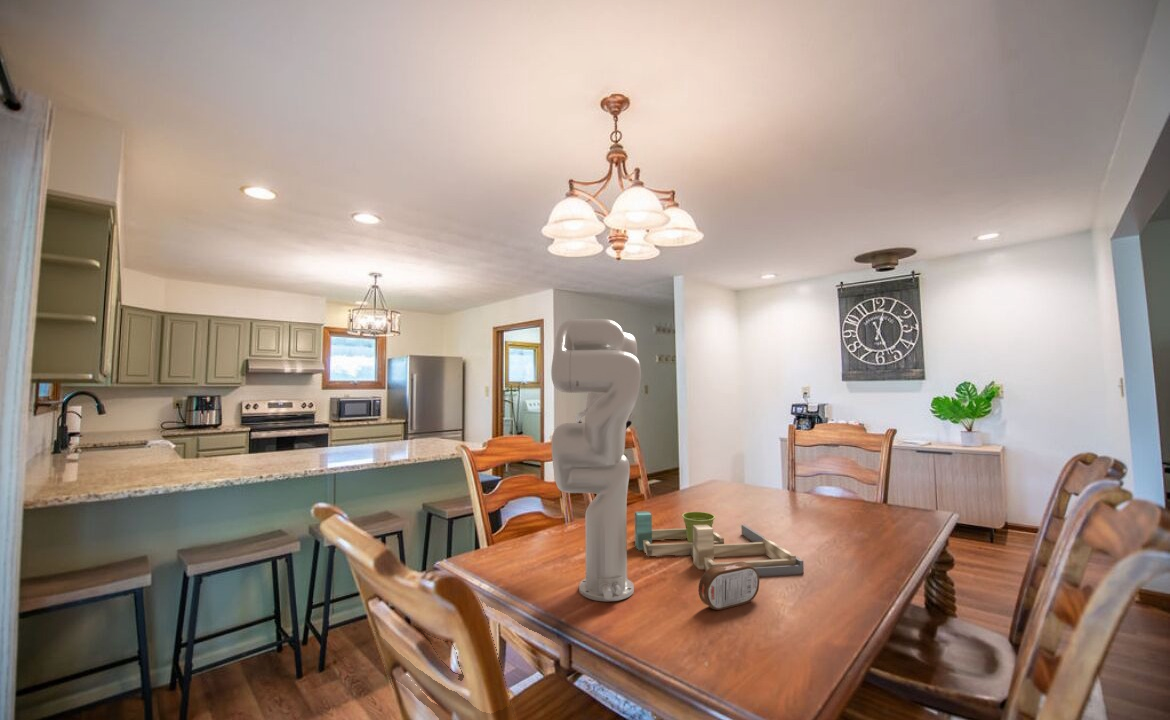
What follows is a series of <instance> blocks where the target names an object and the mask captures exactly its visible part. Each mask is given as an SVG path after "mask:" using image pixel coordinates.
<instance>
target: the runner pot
mask: <svg viewBox="0 0 1170 720" xmlns="http://www.w3.org/2000/svg"><path fill="white" fill-rule="evenodd" d="M652 517H653V515H652V513H651V512H650V511H648V510H644V511H642V510H640V511H639V510H638V511H634V547H635V546H636V547H635V548H636V550H637V549H638V550H637V551H638V552H639V551H640V550H643V552H644V554H645V553H646V554H645V555H646V556H647V558H650V557H649V556H656V557H663V556H662V555H675V556H691V555H690V554H691V550H690V548H692V546H693V542H688V541H686V542H669V543H653V541H652V540H661V541H663V540H662V539H681V540H688V538H687V532H686V527H685V528H684V527H683V528H677V527H676V528H659V529H658V528H657V529H653V524H652V520H653V518H652ZM686 538H687V539H686ZM713 539H714V544H725V538H724V537H723V536H722V535H720V534H719V533H717V531H715V530H713ZM640 552H641V551H640ZM660 555H661V556H660Z"/></svg>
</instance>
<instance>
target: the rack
mask: <svg viewBox="0 0 1170 720" xmlns="http://www.w3.org/2000/svg"><path fill="white" fill-rule="evenodd" d="M740 527H741V535H742V536H743V535H744V536H743V537H745V538H746V537H747V538H746V539H747V540H749V539H750V541H751V543H753V542H763V538H766V537H765V536H764V535H762V534H761V533H758V531H756V530H754V529H753V528H750V527H749V526H747V525H746V524H741V526H740ZM690 550H691V555H690V556H691V557H692V548H690ZM754 568H755V569H756V570H757V572H758V574H759V577H772V576H775V577H776V576H789V575H802V574H804V572H805V571H804V570H805V569H804V560H803V559H801V558H799V557H797V556H796V565H782V566H765V567H754Z"/></svg>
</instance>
